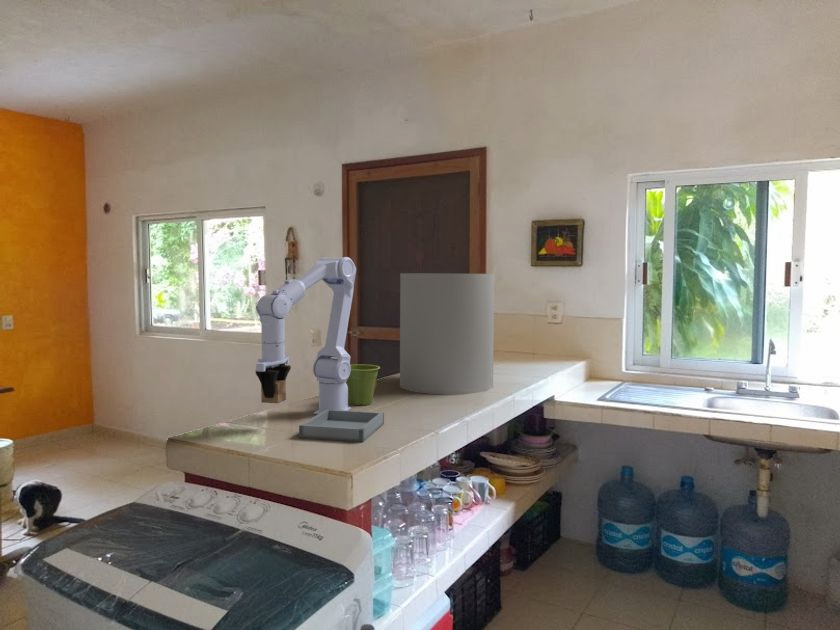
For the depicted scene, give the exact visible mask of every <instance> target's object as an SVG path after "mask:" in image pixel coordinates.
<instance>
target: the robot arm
mask: <svg viewBox="0 0 840 630" xmlns="http://www.w3.org/2000/svg"><path fill="white" fill-rule="evenodd" d="M356 273H357V267H356V265H355V263H354V261H353V260H352V259H351V258H350V257H349V256H344V257H325V256H324V257H321V258H319V259H318V260H316V261H314V265H313V266H312V267H311V268H309V269H308V270H307V271H306V272H305V273H303V275H301V276H300V277H299V278H297V279H295V278H291V279H290V278H288V279H286V280H284V283H283V284H282V285H281V286H280V287H278V288H274V289H273V290H272V292H271V293H270V294H264V295H263V296H261V297H260V298H259V299H258V302H257V304H256V305H255V310H256V313H257V314H258V316H259V322H260V324H261V331H260V332H261V358H259V359H257V363H255V375H256V376H257V378H258V380H259V382H260V385H262V389H263V392H264V396H265V398H273V397H274V393H275V383H276V380H284V381H287V377H288V374H289V372H290V370H291V368H292V367H291V365H287V364H290V356H289V355H286V342H285V341H286V334H285V333H286V329H285V328H286V327H285V324H286V323H285V322H286V321H285V320H286V317H288V315H289V313H290V310H291V308H292V307H293V306H294V305H296V303H297V302H299V301H300V300H302V299H303V298H304V297H305V296H306V290H308V289H309V288H311V287H312V286H315V285H316V284H317V283H319V282H320V281H322V282H324V284H326V285H327V286H328V287H329V288H330V289H331V290H332V291H333V295H332V297H333V298H332V301H331V303H332V304H331V308H330V315H329V322H328V325H327V326H328V327H327V332H326V338H325V345H324V347H322V348H320V350H318V351H317V355H316V359H315V360H314V361H313V365H312V372H313V373H312V374H313V375H314V377H315V378H316V381H317V382H318V409H317V410H316V411H313V414H314V415H318V414H320V413H321V412H323V411H325V410H326V409H330V410H347V411H351V409H352V407H350V406H349V403H348V386H347V384H346V383H345V382H346V381H347V379H348V377H349V375H350V372H351V367H350V365H351V358H352V357H351V355H350V354H349V353H348V352H347V351H346V349H345V345H346V339H347V334H348V326H349V321H350V320H349V319H350V314H351V309H352V303H353V295H354V289H355V288H354V286H355V279H356Z"/></svg>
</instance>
